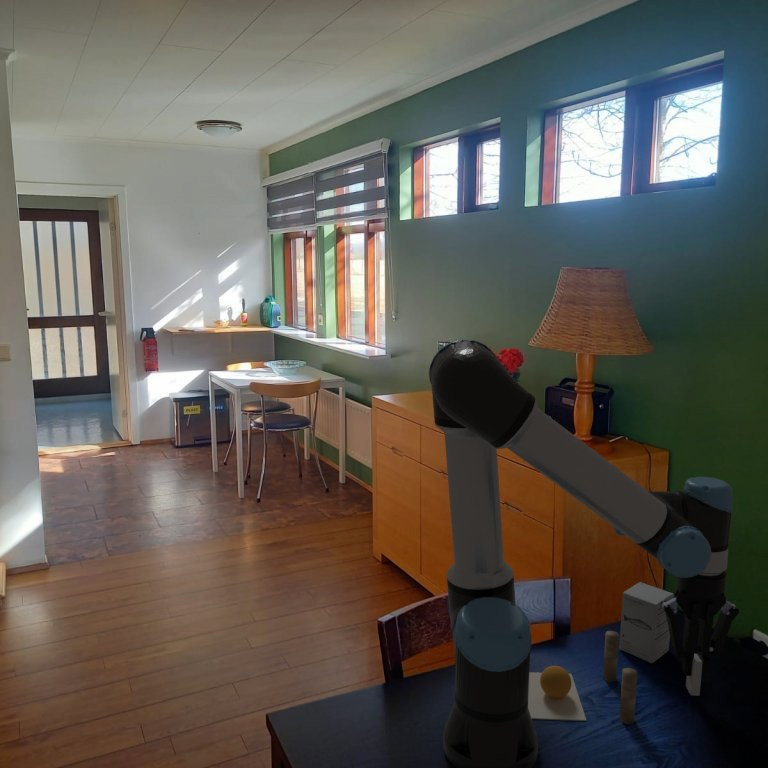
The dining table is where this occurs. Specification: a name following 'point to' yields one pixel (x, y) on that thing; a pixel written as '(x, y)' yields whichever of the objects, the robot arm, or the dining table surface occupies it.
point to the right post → (628, 695)
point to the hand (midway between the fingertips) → (692, 690)
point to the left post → (611, 656)
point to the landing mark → (553, 702)
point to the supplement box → (644, 622)
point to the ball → (555, 681)
